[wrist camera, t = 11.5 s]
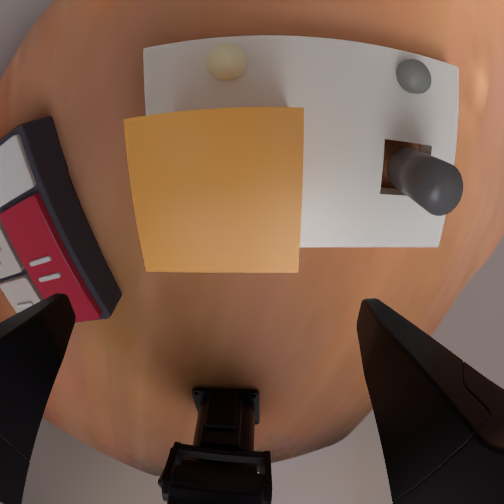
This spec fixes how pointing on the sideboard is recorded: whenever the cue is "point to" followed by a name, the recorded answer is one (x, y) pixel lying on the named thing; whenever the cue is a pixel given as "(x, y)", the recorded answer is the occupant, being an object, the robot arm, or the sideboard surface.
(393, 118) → the panel
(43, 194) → the calculator
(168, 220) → the light orange cube
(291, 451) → the sideboard surface
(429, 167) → the breaker
